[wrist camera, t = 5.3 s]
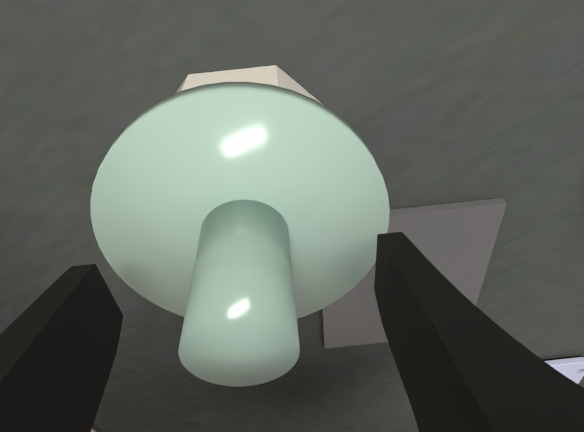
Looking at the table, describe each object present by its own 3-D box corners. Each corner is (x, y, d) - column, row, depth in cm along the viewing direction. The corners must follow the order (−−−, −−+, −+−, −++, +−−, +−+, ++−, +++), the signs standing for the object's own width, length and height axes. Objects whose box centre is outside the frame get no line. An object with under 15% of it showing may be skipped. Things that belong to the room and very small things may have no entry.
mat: (464, 327, 23) (467, 333, 22) (323, 342, 23) (324, 348, 22) (502, 198, 17) (507, 203, 17) (316, 217, 17) (317, 223, 17)
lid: (387, 287, 15) (431, 417, 11) (164, 325, 15) (132, 461, 11) (376, 49, 10) (453, 139, 6) (38, 118, 10) (-97, 243, 6)
